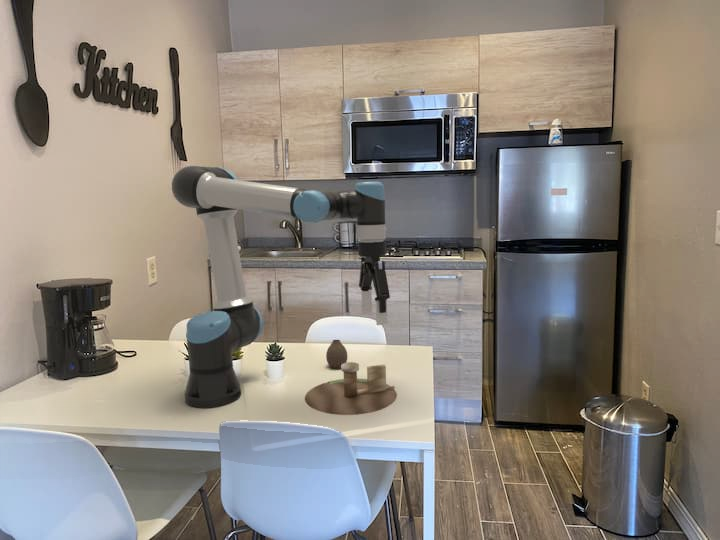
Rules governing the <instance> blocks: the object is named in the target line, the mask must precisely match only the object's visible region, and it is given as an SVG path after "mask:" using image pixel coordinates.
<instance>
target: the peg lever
mask: <svg viewBox="0 0 720 540" xmlns="http://www.w3.org/2000/svg"><path fill="white" fill-rule="evenodd" d="M340 369H341V372H343V379H344V395H345V396H347V397H353V396H356V395H357V394H365V393H372V392H379V391H386V390H387V389H394V390H395V385H389V386H388V387H386V384H387V366H386V365H385V364H377V365H370V366H369V365H368V366H366V373H367V375H366V376H367V378H366V379H367V382H368V389H361V390H357V379H358V371H359V370H360V365H359V363H357V362H353V361H351V362H350V361H347V362H346V363H343V364H342V365H341V368H340Z"/></svg>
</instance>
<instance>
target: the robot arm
mask: <svg viewBox="0 0 720 540" xmlns="http://www.w3.org/2000/svg"><path fill="white" fill-rule="evenodd" d="M171 190H172V194H173V197H174V198H175V200H176V201H177V202H178V203H179V204H181V205H182V206H184V207H187V208H190V209H195V211H196V217H198V218H199V219H201V220H202V222H203V225H204V231H205V237H206V242H207V248H208V254H209V260H210V266H211V272H212V277H213V283H214V290H215V293H216V294H215V295H216V299H217V300H216V302H215V304H214V305H213V310H212V311H206V312H203V313H202V312H201V313H199V314H197V315H194V316H193V317H191V318H190V319H189V320H187V323H186V332H185V337H186V342H187V345H186V346H187V352H188V353H187V355H188V365H189V367H188V368H189V375H188V380H187V382H186V383H187V384H186V388H185V391H184V401H185V403H186V405H187V406H190V407H194V408H202V409H203V408H215V407H221V406H224V405H228V404H230V403H233V402H235V401H236V400H238V399H239V398H240V397H241V396H242V389H241V387H242V386H241V384H240V381H239V379H238V377H237V374H236V372H235V370H234V362H233V360H234V359H233V353H234V352H236V351H237V350H240V349H241V348H243V347H246V346H248V345H251V344H252V343H253V342H254V341H256V340H257V339H258V338H259V336H260V335H261V333H262V331H263V328H264V320H263V319H264V318H263V316H262V313H261V312H260V311H259V310H258V309H257V307H255V306H254V303H253V299H251V298H250V297H249V296H248V295H247V291H246V290H247V289H246V286H245V279H244V274H243V272H244V271H243V268H242V261H241V257H240V256H241V255H240V250H239V249H240V248H239V243H238V237H237V232H236V226H235V225H236V224H235V219H234V218H235V217H234V216H235V215H236V213H238V210H240V211H247V212H254V213H260V214H267V215H272V216H280V217H285V218H292V219H293V218H294V219H297V220H300V221H303V222H306V223H312V224H313V223H318V222H323V221H330V220H331V221H332V220H346V219H347V220H349V219H350V220H353V219H356V234H357V237H356V238H357V240H359V241H358V243H357V254H358V256H360V265H361V266H360V272H359V282H358V287H359V288H360V290H361V314H362V315H368V314H373V303H372V302H373V300H372V299H373V298H372V290H373V288H374V292H375V297H374V301H375V316H376V317H375V320H376V326H381V325H382V326H383V325H388V299H390V298H391V295H390V290H389V283H388V279H387V273H386V261H385V260H381V257H383V256H386V254H387V242H386V232H387V231H388V228H387V227H386V196H385V195H386V194H385V186H384V184H383V183H382V182H381V181H364V182H363V181H361V182H357V183H355V189H352V190H313V189H307V188H298V187H292V186H291V187H290V186H286V185H285V186H283V185H278V184H270V183H262V182H255V181H248V180H241V179H238V177H237V176H236V175H235V174H234V173H233V172H232V171H230V170H228V169H225V168H221V167H217V166H216V167H213V166H212V167H211V166H197V165H190V166H189V165H188V166H185V167H183V168H180V170H178V171H177V172H176V173H175V174H174V176H173V178H172V180H171ZM372 283H373V287H372Z"/></svg>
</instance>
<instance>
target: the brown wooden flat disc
mask: <svg viewBox="0 0 720 540" xmlns="http://www.w3.org/2000/svg"><path fill="white" fill-rule="evenodd" d="M388 386H390V385H389V384H388V383H386V387H388ZM361 389H368V382H367V378H357V390H361ZM397 394H398V393H397V391H396V390H395V389H387V390H386V391H379V392H372V393H365V394H357V395H356V396H353V397H347V396H345V395H344V378H343V379H342V378H341V379H335V380H330V381H327V382H324V383H321V384H318V385H316V386H314V387H313V388H312V387H311V389H310V390H308V391H307V392H306V394H305V396H304V401H305V403H306V405H308V407H310V408H311V409H313V410H316V411H317V412H320V413H325V414H329V415H339V416H354V415H357V416H358V415H364V414H370V413H374V412H379V411H381V410H383V409H386V408H387V407H389V406H392V404H393V403H394V402H395V401H396V399H397V397H398V395H397Z"/></svg>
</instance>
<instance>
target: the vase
mask: <svg viewBox="0 0 720 540" xmlns="http://www.w3.org/2000/svg"><path fill="white" fill-rule="evenodd" d="M326 362H327V364H328V366H329V367H331V368H333V369H341V365H342V364H343V363H348V351H347V348H346V347H345V346H344V345H343V343H342V342H341V340H340V339H332V342H331V344H330V345H329V346H328V348H327V351H326Z"/></svg>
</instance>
